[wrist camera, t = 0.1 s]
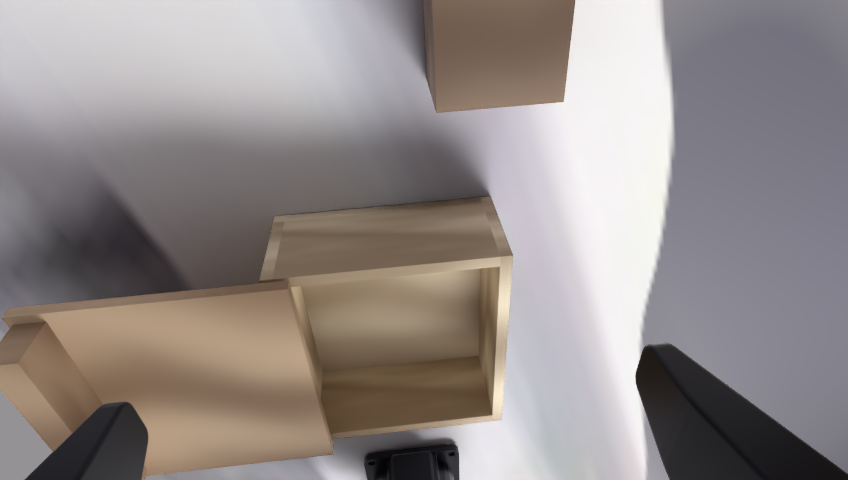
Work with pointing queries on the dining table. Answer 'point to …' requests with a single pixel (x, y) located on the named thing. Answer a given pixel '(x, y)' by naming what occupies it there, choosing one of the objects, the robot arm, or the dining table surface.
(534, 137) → the dining table surface
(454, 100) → the block
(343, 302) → the wooden box
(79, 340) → the lid
